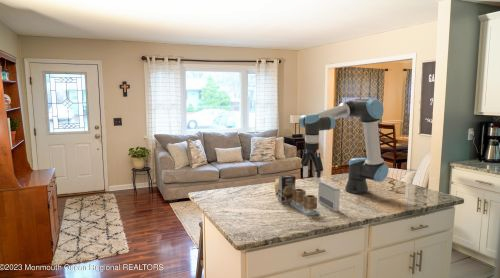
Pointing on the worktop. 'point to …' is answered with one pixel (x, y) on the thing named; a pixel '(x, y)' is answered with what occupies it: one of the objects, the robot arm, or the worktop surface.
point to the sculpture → (276, 185)
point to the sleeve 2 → (310, 203)
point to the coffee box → (286, 188)
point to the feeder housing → (329, 195)
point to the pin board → (300, 208)
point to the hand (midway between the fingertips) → (311, 180)
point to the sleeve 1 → (298, 196)
